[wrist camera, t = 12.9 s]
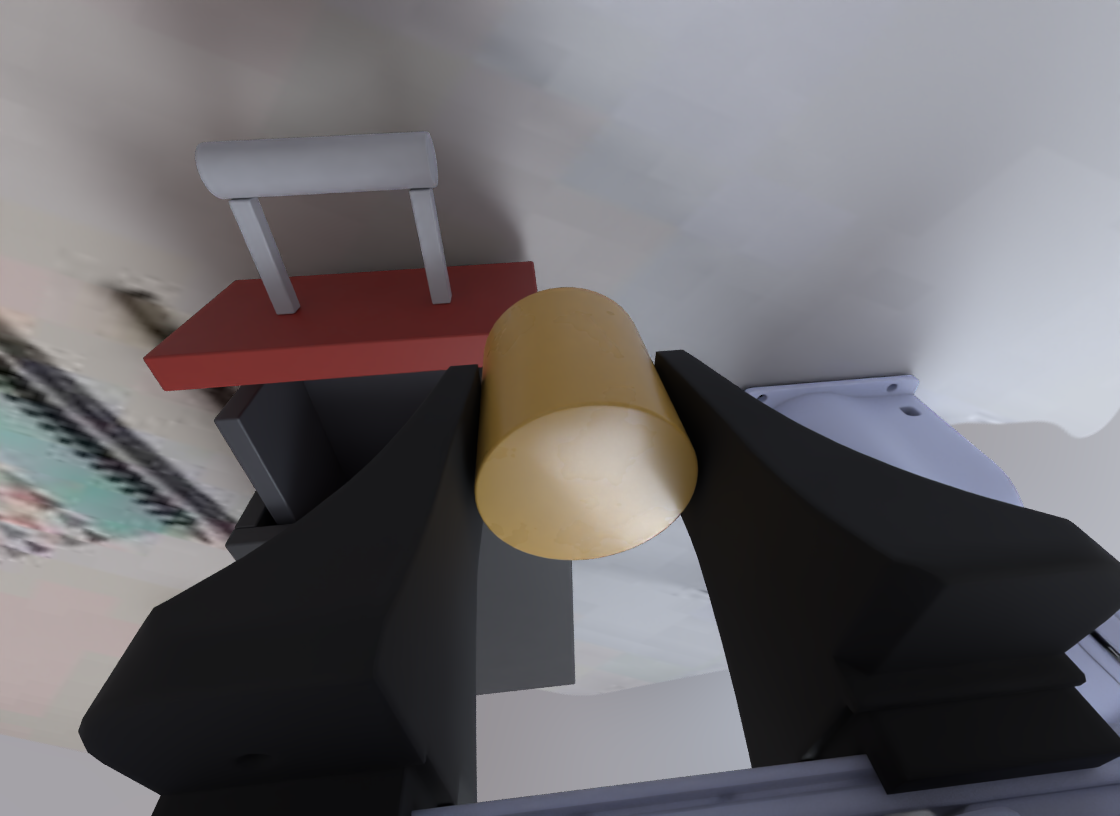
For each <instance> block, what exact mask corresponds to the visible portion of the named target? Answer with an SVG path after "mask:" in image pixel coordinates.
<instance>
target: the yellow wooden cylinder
mask: <svg viewBox="0 0 1120 816" xmlns="http://www.w3.org/2000/svg"><path fill="white" fill-rule="evenodd" d="M697 477H698V461H697V457H696V453H695V450H694V448H693V446H692V443H691V441H690V439H689V437H688V435H687V433H686V431H685V429H684V427H683V425H682V422H681V420H680V418H679V416H678V414H677V412H676V410H675V408H674V406H673V404H672V402H671V400H670V397H669V395H668V393H667V391H666V389H665V387H664V385H663V383H662V381H661V379H660V377H659V374H658V372H657V370H656V368H655V366H654V364H653V362H652V360H651V358H650V356H649V354H648V351H647V349H646V347H645V345H644V343H643V341H642V339H641V337H640V335H639V333H638V331H637V328H636V326H635V324H634V322H633V321H632V319H631V318H630V316H629V315H628V314H627V313H626V312H625V310H624V309H623V308H622V307H621V306H619V305H618V304H617V303H616V302H614V301H613V300H611V299H609V298H608V297H606V296H604V295H602V294H599V293H597V292H594V291H590V290H587V289H582V288H574V287H560V288H552V289H547V290H543V291H539V292H537V293H534V294H531V295H529V296H527V297H525V298H523V299H521V300H520V301H518V302H516V303H515V304H514V305H512V306H511V307H510V308H508V309H507V310H506V311H505V312H504V313H503V314H502V315H501V316H500V318H499V319H498V320H497V321H496V323H495V324H494V326H493V328H492V329H491V331H490V333H489V335H488V338H487V340H486V344H485V348H484V356H483V370H482V384H481V399H480V413H479V426H478V440H477V454H476V469H475V483H474V496H475V502H476V506H477V509H478V512H479V514H480V516H481V517H482V519H483V521H484V523H485V524H486V525H487V527H488V528H489V529H490V530H491V531H492V532H493V533H494V534H495V535H496V536H497V537H498V538H500V539H501V540H502V541H504V542H505V543H507V544H508V545H510V546H512V547H514V548H516V549H518V550H521V551H523V552H525V553H528V554H532V555H535V556H539V557H544V558H549V559H558V560H587V559H594V558H601V557H605V556H610V555H614V554H617V553H620V552H624V551H626V550H629V549H632V548H634V547H636V546H639V545H641V544H643V543H645V542H647V541H648V540H650V539H652V538H653V537H655V536H657V535H658V534H659V533H661V532H662V531H664V530H665V529H666V528H667V527H669V526H670V525H671V524H672V523H673V522H674V521H675V520H676V519H677V518H678V517H679V516H680V514H681V513H682V512H683V511H684V509H685V508H686V506H687V505H688V503H689V502H690V499H691V497H692V495H693V493H694V490H695V487H696V484H697Z"/></svg>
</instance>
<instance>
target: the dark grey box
mask: <svg viewBox="0 0 1120 816" xmlns="http://www.w3.org/2000/svg"><path fill="white" fill-rule="evenodd" d="M291 525H292V524H284V525H277V523H276V522H275V520H274V519H273V517H272V515H271V514H270V512H269V510H268V509H267V507H266V506H265V504H264V502H263V501H262V499H261V497H260V496H259V494H258V492H257V491H255V493H254V495H253V497H252V498H251V500H250V502H249V504H248V505H247V507H246V509H245V511H244V512H243V514H242V516H241V518H240V519H239V521H238V523H237V525H236V526H235V529H234V530H233V532H232V534H231V535H230V537H229V539H228V541H227V542H226V544H225V547H226V548H227V549H228V551H229V552H230V553H231V555H232V556H233V557H234V559H235V560H236V561H237V560H239V559H240V558H242V557H244V556H245V555H247V554H248V553H250V552H252V551H253V550H255V549H256V548H258V547H259V546H261V545H262V544H264V543H265V542H267V541H269V540H270V539H272V538H273V537H275V536H276V535H278V534H279V533H281V532H282V531H283V530H285V529H286V528H288V527H289V526H291ZM570 684H575V659H574V624H573V588H572V560H558V559H549V558H544V557H539V556H535V555H532V554H528V553H525V552H523V551H521V550H518V549H516V548H514V547H512V546H510V545H508V544H507V543H505V542H504V541H502V540H501V539H500V538H498V537H497V536H496V535H495V534H494V533H493V532H492V531H491V530H490V529H489V528H488V527H487V525H486V524H485V523H484V521H483V528H482V536H481V544H480V552H479V562H478V575H477V621H476V695H482V694H490V693H500V692H508V691H517V690H526V689H535V688H544V687H552V686H561V685H570Z"/></svg>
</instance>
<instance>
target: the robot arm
mask: <svg viewBox="0 0 1120 816" xmlns="http://www.w3.org/2000/svg"><path fill="white" fill-rule="evenodd" d="M654 366H655V368H656V370H657V372H658V374H659V377H660V379H661V381H662V383H663V385H664V387H665V389H666V391H667V393H668V395H669V397H670V400H671V402H672V404H673V406H674V408H675V410H676V412H677V414H678V416H679V418H680V420H681V422H682V425H683V427H684V429H685V431H686V433H687V435H688V437H689V439H690V441H691V443H692V446H693V448H694V450H695V453H696V457H697V461H698V477H697V484H696V487H695V490H694V493H693V495H692V497H691V499H690V502H689V503H688V505H687V506H686V508H685V509H684V511H683V512H682V513H681V517H682V519H683V521H684V524H685V526H686V529H687V531H688V533H689V536H690V538H691V541H692V543H693V546H694V549H695V552H696V554H697V557H698V560H699V564H700V567H701V570H702V574H703V577H704V580H705V584H706V587H707V590H708V594H709V597H710V601H711V604H712V608H713V612H714V615H715V619H716V622H717V626H718V630H719V633H720V637H721V640H722V644H723V648H724V652H725V656H726V660H727V664H728V668H729V672H730V676H731V680H732V684H733V688H734V691H735V695H736V700H737V704H738V709H739V713H740V717H741V722H742V726H743V730H744V735H745V738H746V743H747V748H748V752H749V757H750V762H751V766H752V768H750V769H743V770H734V771H726V772H719V773H710V774H702V775H694V776H686V777H678V778H671V779H662V780H655V781H647V782H638V783H630V784H623V785H616V786H615V785H614V786H606V787H598V788H591V789H583V790H574V791H567V792H558V793H551V794H544V795H543V794H542V795H535V796H526V797H519V798H510V799H502V800H494V801H488V802H487V801H486V802H479V803H477V775H476V773H477V772H476V621H477V575H478V562H479V552H480V544H481V536H482V528H483V519H482V517H481V516H480V514H479V512H478V509H477V506H476V502H475V496H474V483H475V469H476V454H477V440H478V426H479V413H480V399H481V380H480V374H479V367H478V364H472V365H458V366H450V367H449V368H448V369H447V370H446V372H445V373H444V374H443V376H442V377H441V378H440V380H439V381H438V383H437V384H436V385H435V387H434V388H433V389H432V391H431V392H430V394H429V395H428V396H427V398H426V399H425V400H424V402H423V403H422V404H421V405H420V407H419V408H418V409H417V410H416V412H415V413H414V414H413V415H412V417H411V418H410V419H409V420H408V421H407V423H406V424H405V425H404V426H403V427H402V428H401V430H400V431H399V432H398V433H397V434H396V435H395V436H394V437H393V438H392V439H391V441H390V442H389V443H388V444H387V445H386V446H385V447H384V448H383V449H382V450H381V451H380V452H379V453H378V454H377V455H376V456H375V457H374V458H373V459H372V460H371V461H370V462H369V463H368V464H367V465H366V466H365V467H364V468H363V469H362V470H361V471H359V472H358V473H357V474H356V475H355V476H354V477H353V478H352V479H351V480H349V481H348V482H347V483H346V484H345V485H343V486H342V487H341V488H340V489H338V490H337V491H336V492H334V493H333V494H332V495H331V496H329V497H328V498H327V499H325V500H324V501H323V502H322V503H320V504H319V505H318V506H316V507H315V508H314V509H313V510H311V511H310V512H309V513H307V514H306V515H305V516H303V517H302V518H301V519H299V520H298V521H297V522H295V523H294V524H292V525H291V526H289V527H288V528H286V529H285V530H283V531H282V532H281V533H279V534H278V535H276V536H275V537H273V538H272V539H270V540H269V541H267V542H265V543H264V544H262V545H261V546H259V547H258V548H256V549H255V550H253V551H252V552H250V553H248V554H247V555H245V556H244V557H242V558H240V559H239V560H237V561H235V562H234V563H232V564H231V565H229V566H227V567H225V568H224V569H222V570H220V571H218V572H217V573H215V574H213V575H211V576H210V577H208V578H206V579H204V580H203V581H201V582H199V583H197V584H196V585H194V586H192V587H190V588H189V589H187V590H185V591H183V592H182V593H180V594H178V595H176V596H175V597H173V598H171V599H169V600H167V601H166V602H164V603H162V604H160V605H158V606H156V607H154V608H153V610H152V611H151V612H150V614H149V615H148V617H147V618H146V620H145V621H144V623H143V624H142V626H141V627H140V629H139V631H138V632H137V634H136V635H135V637H134V638H133V640H132V642H131V643H130V645H129V646H128V648H127V649H126V651H125V653H124V654H123V656H122V657H121V659H120V660H119V662H118V664H117V665H116V667H115V668H114V670H113V671H112V673H111V675H110V676H109V678H108V679H107V681H106V682H105V684H104V686H103V687H102V689H101V690H100V692H99V693H98V695H97V697H96V698H95V700H94V701H93V703H92V704H91V706H90V708H89V709H88V711H87V712H86V714H85V715H84V717H83V719H82V722H81V725H80V728H79V730H78V732H79V735H80V737H81V739H82V742H83V744H84V746H85V748H86V750H87V752H88V753H90V754H91V755H92V756H94V757H95V758H96V759H98V760H99V761H101V762H102V763H103V764H105V765H107V766H109V767H111V768H112V769H114V770H116V771H118V772H120V773H121V774H123V775H125V776H127V777H129V778H131V779H132V780H134V781H136V782H138V783H140V784H141V785H143V786H145V787H147V788H148V789H150V790H152V791H154V792H156V793H158V794H159V795H161V796H160V799H159V800H158V802H157V805H156V807H155V809H154V811H153V813H152V815H151V816H1120V657H1119V656H1120V562H1119V561H1117V560H1116V559H1115V558H1114V557H1113V556H1112V555H1110V554H1109V553H1108V552H1107V551H1106V550H1104V549H1103V548H1102V547H1101V546H1100V545H1099V544H1097V543H1096V542H1095V541H1094V540H1093V539H1092V538H1090V537H1089V536H1088V535H1087V534H1086V533H1084V532H1083V531H1082V530H1081V529H1080V528H1079V527H1077V526H1076V525H1075V524H1074V523H1072V522H1071V521H1069V520H1067V519H1064V518H1061V517H1057V516H1054V515H1050V514H1046V513H1043V512H1039V511H1035V510H1032V509H1028V508H1024V506H1023V503H1022V501H1021V498H1020V496H1019V494H1018V492H1017V490H1016V488H1015V486H1014V485H1013V483H1012V482H1011V480H1010V478H1009V477H1008V476H1007V475H1006V474H1005V473H1004V471H1003V470H1002V469H1001V468H1000V467H999V466H998V465H997V464H995V462H993V461H992V460H991V459H990V458H989V457H987V456H986V455H985V454H984V453H983V452H981V451H980V450H979V449H978V448H977V447H975V446H974V445H973V444H972V443H971V442H970V441H968V440H967V439H966V438H965V437H964V436H962V435H961V434H960V433H959V432H958V431H956V430H955V429H954V428H953V427H952V426H950V425H949V424H948V423H947V422H946V421H944V420H943V419H942V418H941V417H940V416H938V415H937V414H936V413H935V412H934V411H932V410H931V409H930V408H929V407H928V406H926V405H925V404H924V403H923V402H922V401H920V400H919V399H918V398H917V397H916V396H914V393H915V391H916V389H917V387H918V385H919V380H918V379H917V378H916V377H914V376H913V375H902V376H890V377H877V378H865V379H853V380H840V381H828V382H816V383H803V384H791V385H778V386H766V387H754V388H748V389H746V390H745V391H744V390H742V389H741V388H739V387H738V386H736V385H735V384H733V383H732V382H730V381H729V380H727V379H726V378H724V377H723V376H721V375H720V374H718V373H717V372H716V371H714V370H713V369H711V368H710V367H708V366H707V365H705V364H704V363H703V362H701V361H700V360H698V359H697V358H695V357H694V356H692V355H690V354H689V353H687V352H685V351H684V350H673V351H658V352H656V356H655V365H654ZM888 386H889V387H888ZM760 395H763V396H762V397H760V398H758V397H759V396H760ZM1116 653H1117V654H1118V655H1119V656H1118V655H1117V654H1116Z"/></svg>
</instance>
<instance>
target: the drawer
mask: <svg viewBox="0 0 1120 816" xmlns="http://www.w3.org/2000/svg"><path fill="white" fill-rule="evenodd" d="M195 161H196V166H197V170H198V172H199V175H200V177H201V179H202V181H203V183H204V185H205V186H206V187H207V189H208V190H209V191H210V192H211V193H212V194H213V195H214V196H216V197H218V198H220V199H231V200H230V201H229V205H230V207H231V210H232V212H233V214H234V217H235V219H236V221H237V224H238V226H239V228H240V231H241V233H242V235H243V237H244V240H245V242H246V244H247V247H248V249H249V251H250V254H251V256H252V258H253V261H254V263H255V265H256V268H257V270H258V272H259V274H260V277H261V279H248V280H235V281H234V282H233V283H232V284H230V285H229V286H228V287H227V288H226V289H224V290H223V291H222V292H221V293H220V294H218V295H217V296H216V297H215V298H214V299H212V300H211V301H210V302H209V303H208V304H206V305H205V306H204V307H203V308H202V309H200V310H199V311H198V312H197V313H196V314H195V315H193V316H192V317H191V318H190V319H189V320H187V321H186V322H185V323H184V324H183V325H181V326H180V327H179V328H178V329H177V330H175V331H174V332H173V333H172V334H171V335H169V336H168V337H167V338H166V339H165V340H163V341H162V342H161V343H160V344H159V345H158V346H156V347H155V348H154V349H153V350H152V351H150V352H149V353H148V354H147V355H146V356H144V358H143V359H144V361H145V363H146V364H147V366H148V367H149V369H150V370H151V372H152V373H153V375H154V376H155V378H156V379H157V381H158V382H159V384H160V386H161V387H162V389H163V390H164V391H174V390H187V389H201V388H214V387H227V386H240V385H241V387H240V388H239V389H238V390H237V392H236V393H235V394H234V395H233V397H232V398H231V399H230V400H229V402H228V403H227V404H226V405H225V407H224V408H223V409H222V410H221V412H220V413H219V414H218V415H217V417H216V418H215V419H214V422H215V424H216V426H217V427H218V429H219V430H220V432H221V434H222V435H223V437H224V439H225V440H226V442H227V444H228V445H229V447H230V448H231V450H232V452H233V453H234V455H235V457H236V458H237V460H238V461H239V463H240V465H241V466H242V468H243V470H244V471H245V473H246V475H247V476H248V478H249V479H250V481H251V483H252V484H253V486H254V488H255V489H256V491H257V492H258V494H259V496H260V497H261V499H262V501H263V502H264V504H265V506H266V507H267V509H268V510H269V512H270V514H271V515H272V517H273V519H274V520H275V522H276V523H277V525H284V524H294V523H295V522H297V521H298V520H299V519H301V518H302V517H303V516H305V515H306V514H307V513H309V512H310V511H311V510H313V509H314V508H315V507H316V506H318V505H319V504H320V503H322V502H323V501H324V500H325V499H327V498H328V497H329V496H331V495H332V494H333V493H334V492H336V491H337V490H338V489H340V488H341V487H342V486H343V485H345V484H346V483H347V482H348V481H349V480H351V479H352V478H353V477H354V476H355V475H356V474H357V473H358V472H359V471H361V470H362V469H363V468H364V467H365V466H366V465H367V464H368V463H369V462H370V461H371V460H372V459H373V458H374V457H375V456H376V455H377V454H378V453H379V452H380V451H381V450H382V449H383V448H384V447H385V446H386V445H387V444H388V443H389V442H390V441H391V439H392V438H393V437H394V436H395V435H396V434H397V433H398V432H399V431H400V430H401V428H402V427H403V426H404V425H405V424H406V423H407V421H408V420H409V419H410V418H411V417H412V415H413V414H414V413H415V412H416V410H417V409H418V408H419V407H420V405H421V404H422V403H423V402H424V400H425V399H426V398H427V396H428V395H429V394H430V392H431V391H432V389H433V388H434V387H435V385H436V384H437V383H438V381H439V380H440V378H441V377H442V376H443V374H444V373H445V372H446V370H447V369H448V368H449V367H450V366H458V365H472V364H478V367H479V374H480V380H481V384H482V370H483V356H484V348H485V344H486V340H487V338H488V335H489V333H490V331H491V329H492V328H493V326H494V324H495V323H496V321H497V320H498V319H499V318H500V316H501V315H502V314H503V313H504V312H505V311H506V310H507V309H508V308H510V307H511V306H512V305H514V304H515V303H516V302H518V301H520V300H521V299H523V298H525V297H527V296H529V295H531V294H534V293H537V285H536V277H535V270H534V263H533V262H532V261H528V262H512V263H497V264H481V265H466V266H450V267H447V266H446V260H445V255H444V249H443V244H442V238H441V233H440V227H439V222H438V216H437V211H436V205H435V200H434V194H433V189H432V188H435V187H437V184H438V169H437V161H436V155H435V150H434V145H433V141H432V138H431V136H430V134H429V132H427V131H421V132H400V133H379V134H359V135H338V136H318V137H297V138H277V139H256V140H236V141H215V142H202V143H200V144H199V145H198V146H197V147H196V150H195ZM399 189H410V191H409V195H410V200H411V204H412V209H413V214H414V219H415V223H416V228H417V233H418V238H419V242H420V247H421V252H422V257H423V261H424V266H425V268H419V269H403V270H388V271H372V272H357V273H341V274H326V275H310V276H294V277H289V276H288V273H287V271H286V268H285V266H284V263H283V261H282V258H281V255H280V253H279V250H278V248H277V245H276V243H275V240H274V238H273V235H272V233H271V230H270V228H269V225H268V223H267V220H266V217H265V215H264V212H263V210H262V207H261V205H260V202H259V200H258V197H272V196H290V195H308V194H326V193H344V192H362V191H381V190H399Z"/></svg>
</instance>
